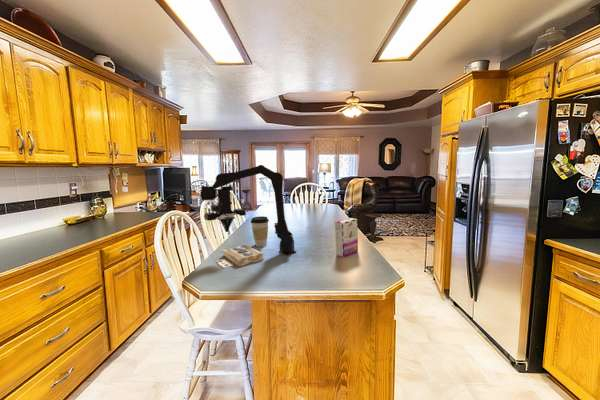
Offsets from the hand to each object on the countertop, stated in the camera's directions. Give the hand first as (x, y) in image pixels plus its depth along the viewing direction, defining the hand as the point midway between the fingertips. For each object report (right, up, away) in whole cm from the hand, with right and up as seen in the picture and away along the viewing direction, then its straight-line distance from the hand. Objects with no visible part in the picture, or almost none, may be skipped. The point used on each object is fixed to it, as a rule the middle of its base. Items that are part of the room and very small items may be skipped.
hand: (226, 231), depth 131 cm
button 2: (+11, -12, -6) cm, 17 cm away
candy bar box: (+58, -11, -1) cm, 59 cm away
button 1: (+5, -11, +2) cm, 12 cm away
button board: (+8, -12, -2) cm, 15 cm away
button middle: (+8, -10, -2) cm, 13 cm away
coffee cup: (+14, -9, +18) cm, 25 cm away
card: (+1, -13, -9) cm, 16 cm away
